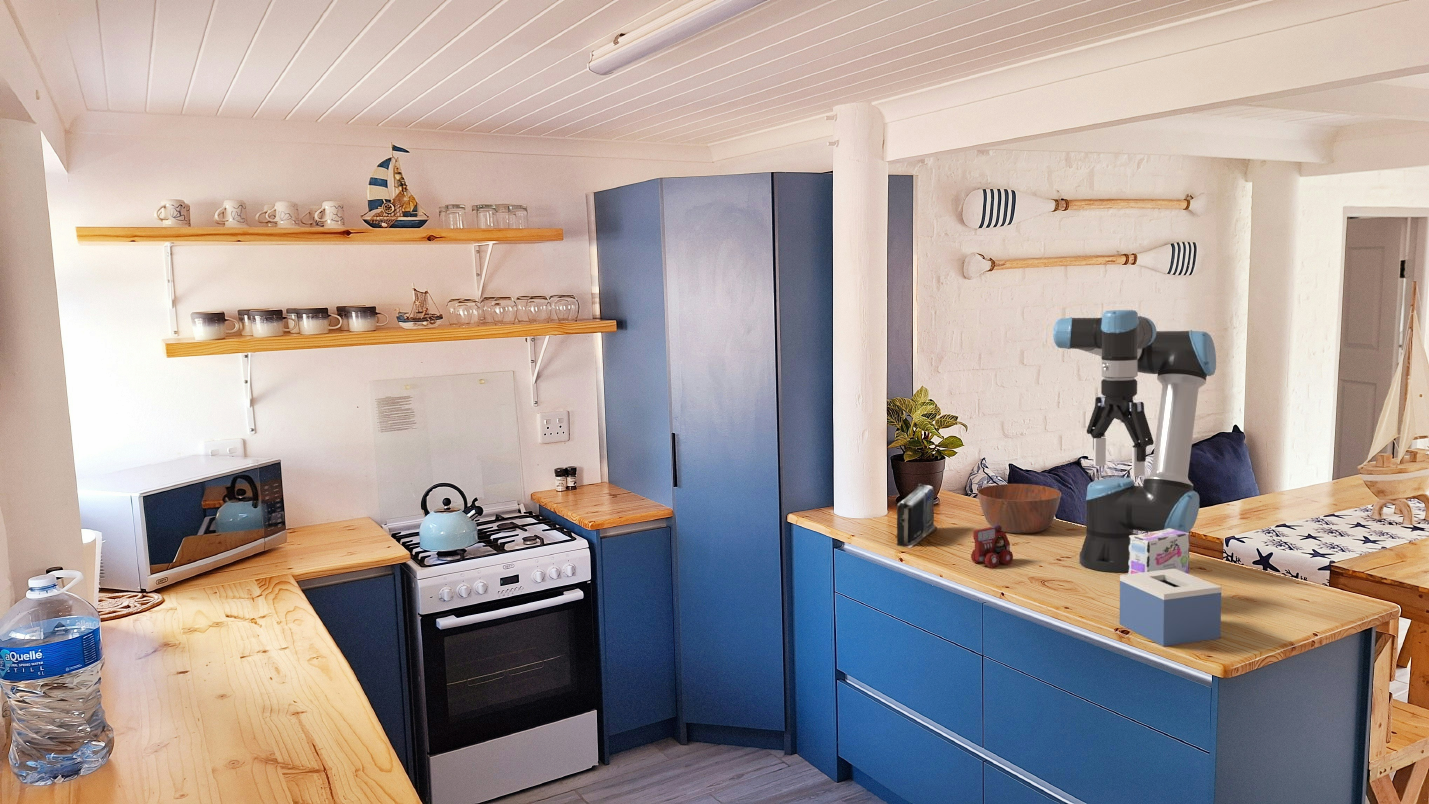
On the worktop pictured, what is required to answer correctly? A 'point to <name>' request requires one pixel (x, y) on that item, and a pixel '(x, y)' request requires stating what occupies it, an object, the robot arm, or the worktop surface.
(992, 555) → the toy fire truck
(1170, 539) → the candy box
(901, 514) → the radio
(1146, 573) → the coin box
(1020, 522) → the bowl
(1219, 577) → the worktop surface
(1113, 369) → the robot arm
